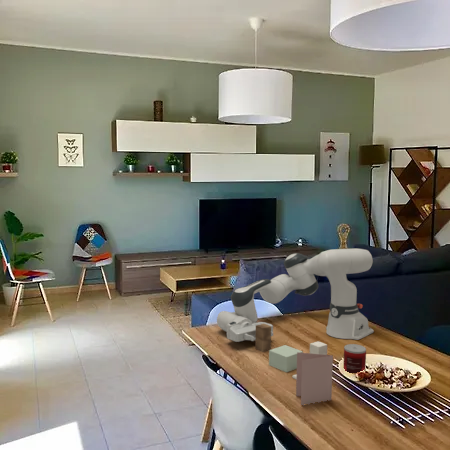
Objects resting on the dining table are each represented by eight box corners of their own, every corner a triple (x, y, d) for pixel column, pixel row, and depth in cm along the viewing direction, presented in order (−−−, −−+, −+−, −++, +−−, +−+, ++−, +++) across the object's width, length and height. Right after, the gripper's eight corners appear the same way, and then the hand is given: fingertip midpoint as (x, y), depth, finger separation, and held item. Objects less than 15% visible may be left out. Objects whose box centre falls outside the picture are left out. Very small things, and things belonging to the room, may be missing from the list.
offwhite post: (317, 366, 190) (318, 341, 189) (326, 370, 187) (327, 344, 185) (309, 369, 188) (309, 343, 186) (318, 373, 184) (318, 347, 183)
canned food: (356, 371, 186) (358, 342, 185) (369, 380, 178) (370, 350, 177) (338, 374, 183) (339, 345, 182) (350, 383, 176) (352, 352, 175)
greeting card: (331, 398, 164) (332, 354, 162) (330, 409, 157) (332, 363, 155) (296, 394, 167) (297, 351, 165) (294, 405, 159) (295, 359, 158)
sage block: (284, 359, 197) (285, 344, 197) (302, 366, 191) (302, 351, 190) (268, 365, 191) (269, 350, 191) (286, 372, 185) (286, 357, 184)
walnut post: (263, 346, 211) (264, 323, 210) (270, 349, 207) (271, 326, 206) (255, 348, 208) (255, 325, 207) (262, 352, 205) (262, 328, 204)
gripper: (260, 330, 225) (281, 339, 213) (223, 339, 213) (244, 349, 201) (261, 316, 224) (282, 324, 213) (224, 324, 212) (244, 333, 201)
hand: (263, 336), depth 207 cm, fingers open, 8 cm apart
